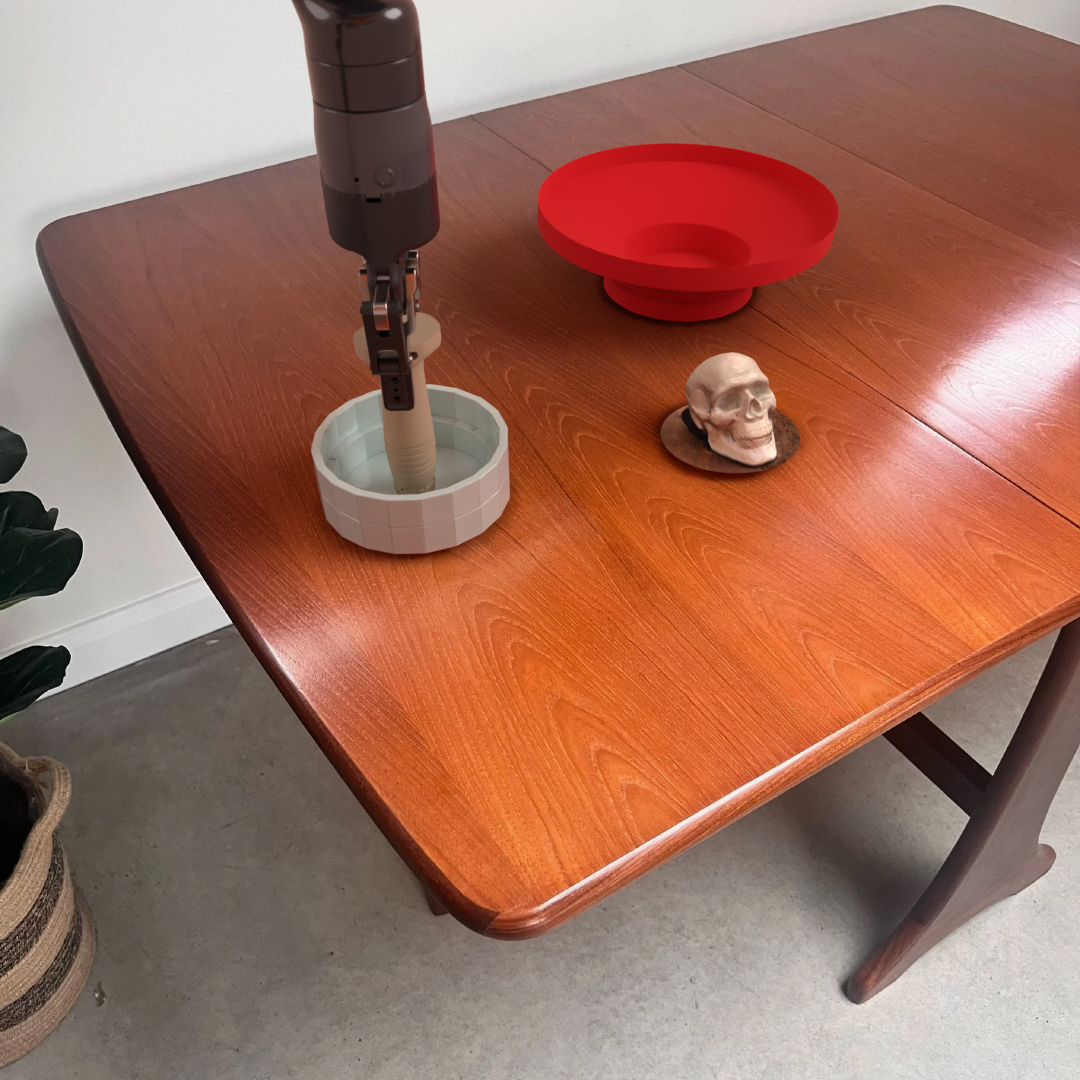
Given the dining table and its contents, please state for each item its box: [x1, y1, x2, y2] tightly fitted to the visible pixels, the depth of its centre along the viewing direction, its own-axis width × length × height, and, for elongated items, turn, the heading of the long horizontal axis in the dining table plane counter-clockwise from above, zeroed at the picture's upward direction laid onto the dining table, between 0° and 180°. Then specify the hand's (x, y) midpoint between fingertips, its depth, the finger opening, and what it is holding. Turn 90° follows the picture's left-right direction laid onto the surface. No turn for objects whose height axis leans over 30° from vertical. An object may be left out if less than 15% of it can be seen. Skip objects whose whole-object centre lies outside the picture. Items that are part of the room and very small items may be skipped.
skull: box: [660, 351, 801, 474], centre depth 90 cm, size 12×10×10 cm
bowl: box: [537, 142, 840, 323], centre depth 109 cm, size 30×30×10 cm
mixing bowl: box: [310, 383, 511, 555], centre depth 84 cm, size 15×15×6 cm
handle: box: [352, 311, 442, 495], centre depth 81 cm, size 5×6×15 cm
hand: (403, 383), depth 79 cm, fingers open, 6 cm apart
